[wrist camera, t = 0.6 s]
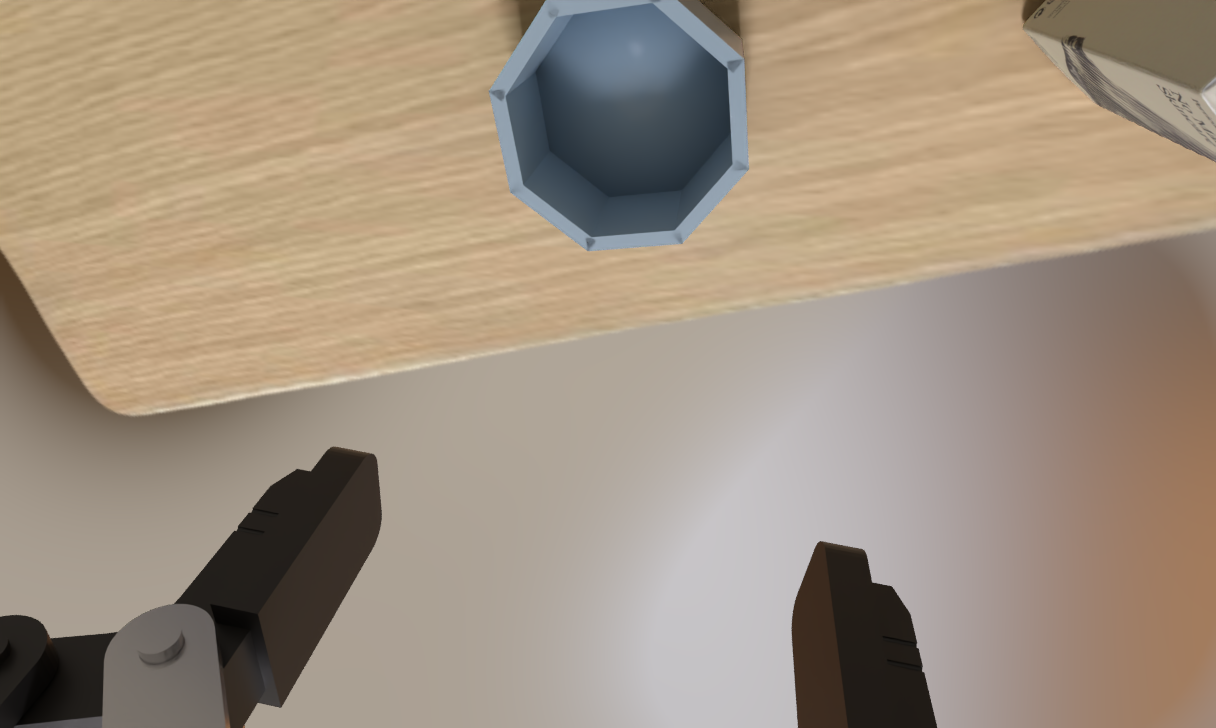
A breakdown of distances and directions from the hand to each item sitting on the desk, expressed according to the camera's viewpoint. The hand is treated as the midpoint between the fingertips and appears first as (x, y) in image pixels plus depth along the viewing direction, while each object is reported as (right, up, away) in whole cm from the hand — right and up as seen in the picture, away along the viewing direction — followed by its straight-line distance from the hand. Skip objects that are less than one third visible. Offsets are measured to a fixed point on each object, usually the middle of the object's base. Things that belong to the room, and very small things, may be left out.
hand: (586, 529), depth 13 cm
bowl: (+2, +15, +20) cm, 25 cm away
